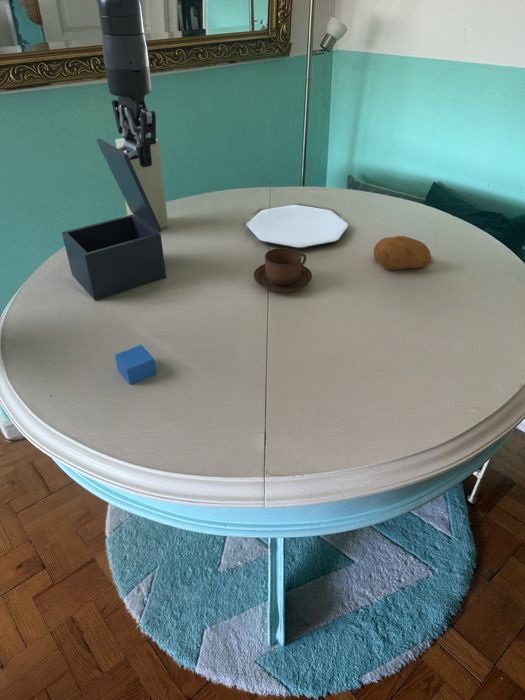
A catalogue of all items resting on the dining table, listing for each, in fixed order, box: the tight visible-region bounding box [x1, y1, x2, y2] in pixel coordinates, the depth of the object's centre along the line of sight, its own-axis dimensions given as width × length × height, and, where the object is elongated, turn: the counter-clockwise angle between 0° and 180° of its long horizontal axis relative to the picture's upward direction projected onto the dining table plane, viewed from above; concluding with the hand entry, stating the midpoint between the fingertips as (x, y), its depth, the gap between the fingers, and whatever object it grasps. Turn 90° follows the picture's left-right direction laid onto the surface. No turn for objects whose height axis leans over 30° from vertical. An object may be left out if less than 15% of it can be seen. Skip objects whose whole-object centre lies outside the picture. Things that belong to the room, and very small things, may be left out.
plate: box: [246, 204, 349, 249], centre depth 128 cm, size 24×24×2 cm
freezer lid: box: [95, 137, 163, 233], centre depth 102 cm, size 17×13×5 cm
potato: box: [373, 235, 432, 271], centre depth 111 cm, size 7×13×7 cm, turn 96°
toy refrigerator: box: [115, 134, 169, 229], centre depth 125 cm, size 8×7×21 cm
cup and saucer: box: [253, 247, 313, 293], centre depth 106 cm, size 12×12×6 cm
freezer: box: [61, 214, 167, 302], centre depth 107 cm, size 16×13×10 cm
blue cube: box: [114, 344, 158, 386], centre depth 82 cm, size 5×5×5 cm
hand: (139, 162), depth 101 cm, fingers closed on freezer lid, 5 cm apart
